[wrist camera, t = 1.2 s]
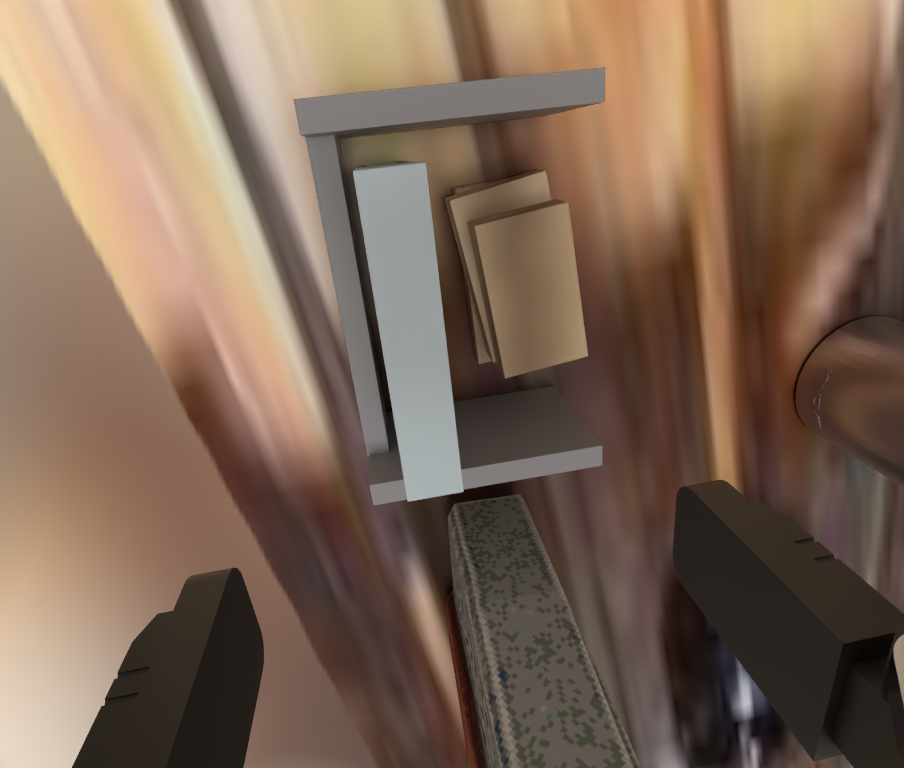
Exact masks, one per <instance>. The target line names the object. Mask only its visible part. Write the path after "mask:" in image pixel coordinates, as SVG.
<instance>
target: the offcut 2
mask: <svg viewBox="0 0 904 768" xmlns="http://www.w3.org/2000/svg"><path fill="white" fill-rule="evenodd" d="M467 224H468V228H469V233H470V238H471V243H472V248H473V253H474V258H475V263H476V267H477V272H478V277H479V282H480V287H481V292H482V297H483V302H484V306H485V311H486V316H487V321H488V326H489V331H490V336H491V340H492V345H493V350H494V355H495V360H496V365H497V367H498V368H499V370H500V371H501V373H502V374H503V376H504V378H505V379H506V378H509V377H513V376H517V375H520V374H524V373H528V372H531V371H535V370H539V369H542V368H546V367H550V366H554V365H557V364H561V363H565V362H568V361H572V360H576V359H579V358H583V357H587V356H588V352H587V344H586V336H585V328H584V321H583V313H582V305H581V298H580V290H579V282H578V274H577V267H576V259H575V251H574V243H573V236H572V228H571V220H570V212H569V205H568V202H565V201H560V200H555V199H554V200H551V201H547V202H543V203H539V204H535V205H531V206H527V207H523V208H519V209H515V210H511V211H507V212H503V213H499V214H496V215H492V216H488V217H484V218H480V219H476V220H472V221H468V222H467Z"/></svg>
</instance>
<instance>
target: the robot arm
mask: <svg viewBox="0 0 904 768" xmlns="http://www.w3.org/2000/svg"><path fill="white" fill-rule="evenodd" d="M795 402H796V408H797V412H798V415H799V417H800V419H801V421H802V422H803V423H804V424H805V425H806V426H807V427H808V429H810V430H812V431H813V432H815V433H817V434H818V435H820V436H821V437H823V438H825V439H826V440H828V441H829V442H831V443H833V444H834V445H836V446H838V447H839V448H841V449H842V450H844V451H846V452H847V453H849V454H851V455H852V456H854V457H855V458H856V459H858V460H860V461H861V462H863V463H865V464H866V465H868V466H870V467H871V468H873V469H874V470H876V471H878V472H879V473H881V474H883V475H884V476H886V477H888V478H889V479H891V480H892V481H894V482H896V483H897V484H899V485H901V486H902V487H904V321H901V320H898V319H894V318H891V317H886V316H871V317H864V318H861V319H858V320H855V321H852V322H850V323H848V324H846V325H844V326H842V327H841V328H839V329H837V330H836V331H835V332H833V333H832V334H831V335H829V336H828V337H827V338H826V339H824V341H823V342H822V343H821V344H820V345H819V346H818V347H817V348H816V349H815V350H814V351H813V353H812V354H811V356H810V357H809V359H808V360H807V362H806V363H805V365H804V367H803V370H802V372H801V374H800V376H799V380H798V383H797V387H796V398H795ZM673 560H674V565H675V568H676V572H677V574H678V577H679V579H680V581H681V583H682V585H683V586H684V588H685V589H686V590H687V592H688V593H689V594H690V596H691V597H692V598H693V600H694V601H695V602H696V604H697V605H698V606H699V608H700V609H701V611H702V612H703V613H704V615H705V616H706V617H707V619H708V620H709V621H710V623H711V624H712V625H713V627H714V628H715V629H716V631H717V632H718V633H719V635H720V636H721V637H722V639H723V640H724V641H725V643H726V644H727V645H728V647H729V648H730V650H731V651H732V652H733V654H734V655H735V656H736V658H737V659H738V660H739V662H740V663H741V664H742V666H743V667H744V668H745V670H746V671H747V672H748V674H749V675H750V676H751V678H752V679H753V680H754V682H755V683H756V685H757V686H758V687H759V689H760V690H761V691H762V693H763V694H764V695H765V697H766V698H767V699H768V701H769V702H770V703H771V705H772V706H773V707H774V709H775V710H776V711H777V713H778V714H779V715H780V717H781V718H782V719H783V721H784V722H785V724H786V725H787V726H788V728H789V729H790V730H791V732H792V733H793V734H794V736H795V737H796V738H797V740H798V741H799V742H800V744H801V745H802V746H803V748H804V749H805V750H806V752H807V753H808V754H809V756H810V757H811V759H812V760H813V761H817V760H822V759H826V758H830V757H834V756H838V755H844V756H845V757H846V758H847V760H848V761H849V762H850V763H851V765H852V766H853V767H854V768H904V614H903V613H902V612H901V611H900V610H898V609H897V608H896V607H895V606H894V605H892V604H891V603H890V602H889V601H888V600H887V599H885V598H884V597H883V596H882V595H881V594H879V593H878V592H877V591H876V590H875V589H874V588H872V587H871V586H870V585H869V584H868V583H866V582H865V581H864V580H863V579H862V578H861V577H859V576H858V575H857V574H856V573H855V572H853V571H852V570H851V569H850V568H849V567H848V566H846V565H845V564H844V563H843V562H842V561H841V560H839V559H837V560H836V559H835V558H834V556H833V554H832V553H831V552H830V551H829V550H828V549H826V548H825V547H824V546H823V545H822V544H820V543H819V542H815V541H814V540H813V537H812V536H811V535H810V534H809V533H807V532H806V531H805V530H804V529H803V528H802V527H800V526H799V525H798V524H797V523H796V522H794V521H793V520H792V519H791V518H790V517H788V516H786V515H784V514H782V513H780V512H778V511H776V510H774V509H772V508H770V507H768V506H766V505H764V504H762V503H760V502H755V503H750V502H749V501H748V500H747V499H746V498H745V497H744V496H743V495H741V494H740V493H739V492H738V491H737V490H736V489H735V488H734V487H733V486H731V485H730V484H729V483H728V482H726V481H724V480H717V481H711V482H706V483H701V484H695V485H690V486H684V487H681V488H680V489H679V491H678V493H677V499H676V513H675V527H674V541H673ZM263 664H264V646H263V638H262V633H261V629H260V626H259V624H258V621H257V618H256V615H255V612H254V609H253V606H252V603H251V600H250V597H249V594H248V591H247V588H246V585H245V582H244V579H243V577H242V574H241V572H240V571H239V569H237V568H231V569H225V570H219V571H214V572H208V573H203V574H198V575H192V576H190V577H189V578H188V579H187V580H186V582H185V584H184V586H183V589H182V591H181V594H180V596H179V598H178V600H177V603H176V605H175V608H174V610H173V611H170V612H165V613H159V614H157V615H156V616H155V617H154V619H153V620H152V621H151V622H150V623H149V624H148V625H147V626H146V627H145V629H144V630H143V631H142V632H141V633H140V634H139V635H138V637H136V639H135V640H134V641H133V642H132V644H131V646H130V648H129V650H128V652H127V654H126V656H125V658H124V660H123V662H122V665H121V667H120V669H119V671H118V678H117V679H114V681H113V684H112V685H111V688H110V689H109V692H108V694H107V696H106V698H105V705H104V706H102V707H101V709H100V710H99V712H98V715H97V717H96V719H95V721H94V723H93V725H92V727H91V729H90V731H89V733H88V735H87V737H86V739H85V742H84V744H83V746H82V748H81V750H80V752H79V754H78V756H77V758H76V760H75V762H74V765H73V766H72V768H243V766H244V762H245V757H246V752H247V747H248V742H249V736H250V732H251V727H252V722H253V716H254V712H255V707H256V702H257V697H258V692H259V687H260V681H261V677H262V672H263Z"/></svg>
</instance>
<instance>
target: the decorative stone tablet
mask: <svg viewBox="0 0 904 768" xmlns="http://www.w3.org/2000/svg"><path fill="white" fill-rule="evenodd" d="M448 530H449V542H450V555H451V567H452V580H453V591H452V592H451V594H450V595H449V596H448V598H447V599H446V608H447V619H448V630H449V641H450V647H451V653H452V660H453V666H454V672H455V679H456V685H457V691H458V698H459V704H460V710H461V716H462V723H463V729H464V735H465V742H466V748H467V755H468V763H469V768H641V766H640V764H639V762H638V759H637V757H636V755H635V753H634V750H633V748H632V746H631V743H630V741H629V739H628V737H627V734H626V732H625V730H624V727H623V725H622V723H621V721H620V718H619V716H618V714H617V711H616V709H615V707H614V705H613V702H612V700H611V698H610V695H609V693H608V691H607V689H606V686H605V684H604V682H603V679H602V677H601V675H600V673H599V670H598V668H597V666H596V663H595V661H594V659H593V657H592V654H591V652H590V650H589V647H588V645H587V643H586V641H585V638H584V636H583V634H582V631H581V629H580V627H579V625H578V622H577V620H576V618H575V615H574V613H573V611H572V609H571V606H570V604H569V602H568V599H567V597H566V595H565V593H564V590H563V588H562V586H561V583H560V581H559V579H558V576H557V574H556V572H555V569H554V567H553V565H552V563H551V560H550V558H549V556H548V553H547V551H546V549H545V546H544V544H543V542H542V539H541V537H540V535H539V533H538V530H537V528H536V526H535V523H534V521H533V519H532V516H531V514H530V512H529V509H528V507H527V505H526V502H525V501H524V499H523V498H522V496H521V495H520V494H518V495H511V496H504V497H497V498H490V499H483V500H476V501H469V502H462V503H455V504H454V505H453V507H452V509H451V511H450V513H449V515H448Z"/></svg>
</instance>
